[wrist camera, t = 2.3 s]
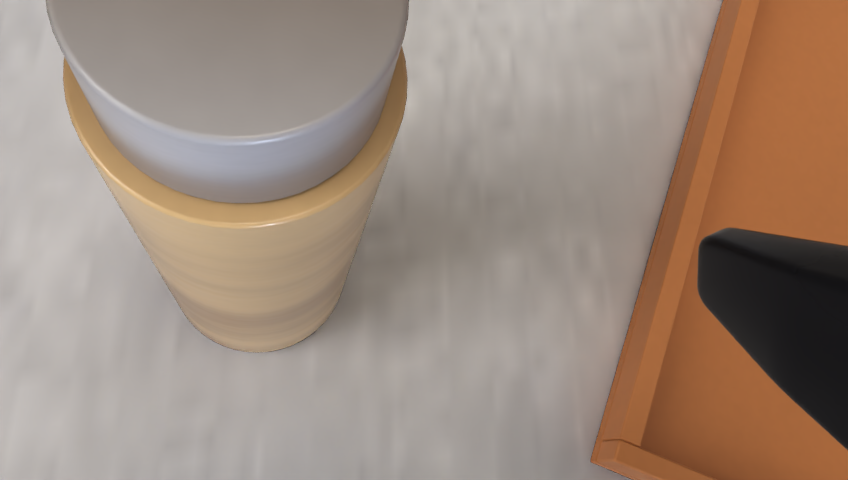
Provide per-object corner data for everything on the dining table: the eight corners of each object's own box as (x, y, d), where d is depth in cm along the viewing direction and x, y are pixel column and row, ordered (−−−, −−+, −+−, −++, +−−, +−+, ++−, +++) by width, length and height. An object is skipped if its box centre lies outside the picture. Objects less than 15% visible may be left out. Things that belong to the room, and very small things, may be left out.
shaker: (345, 351, 21) (443, 177, 8) (166, 353, 20) (-15, 161, 8) (344, 191, 22) (427, -164, 10) (176, 186, 21) (36, -209, 9)
